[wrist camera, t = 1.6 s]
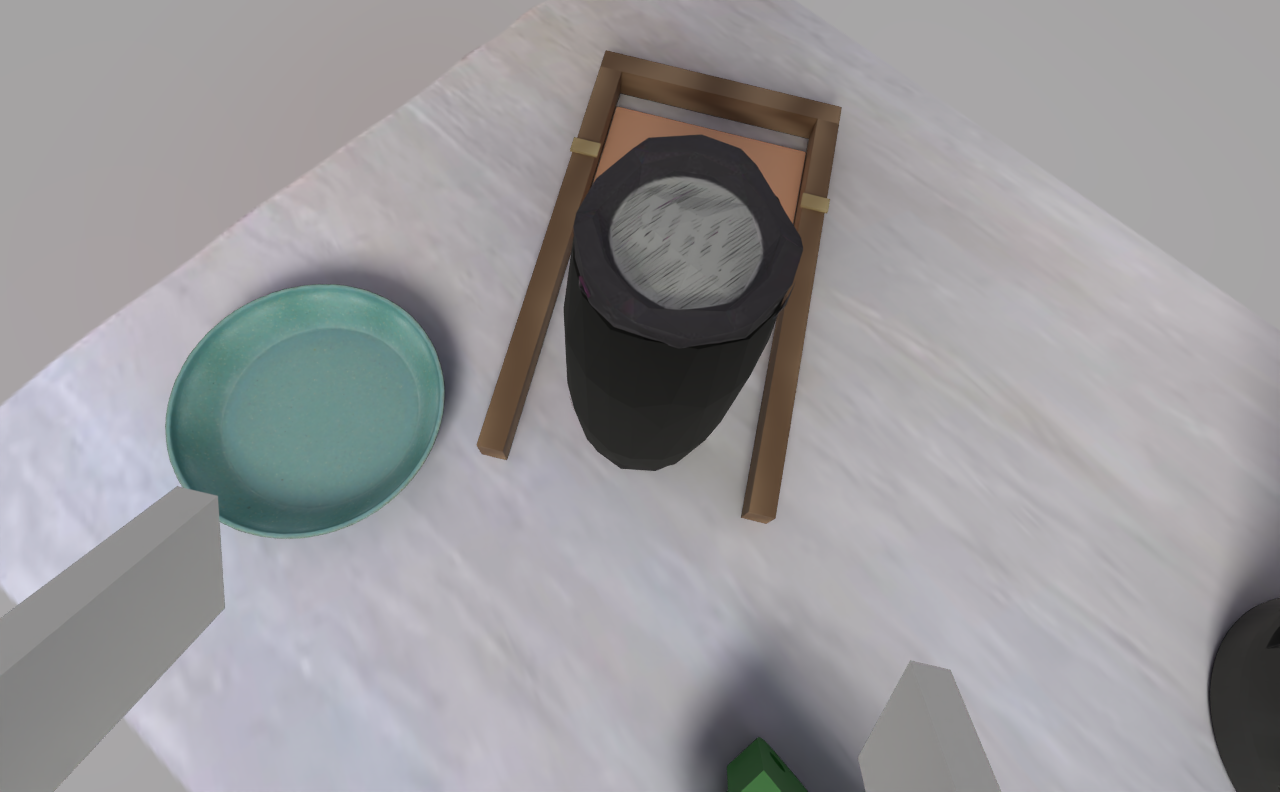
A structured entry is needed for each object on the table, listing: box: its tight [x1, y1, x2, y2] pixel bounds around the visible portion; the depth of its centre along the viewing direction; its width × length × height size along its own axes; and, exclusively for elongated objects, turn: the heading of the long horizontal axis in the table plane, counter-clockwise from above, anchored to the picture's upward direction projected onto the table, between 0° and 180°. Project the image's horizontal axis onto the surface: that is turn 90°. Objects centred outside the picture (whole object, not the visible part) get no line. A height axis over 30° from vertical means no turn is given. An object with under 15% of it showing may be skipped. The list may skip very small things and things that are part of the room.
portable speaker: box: [564, 134, 803, 471], centre depth 31 cm, size 9×9×20 cm
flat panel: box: [593, 107, 806, 223], centre depth 46 cm, size 14×11×1 cm
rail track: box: [477, 50, 842, 524], centre depth 43 cm, size 17×30×2 cm, turn 167°
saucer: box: [165, 284, 445, 539], centre depth 38 cm, size 15×15×3 cm
